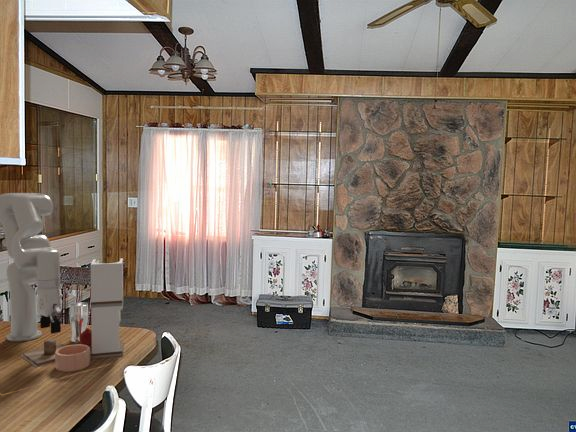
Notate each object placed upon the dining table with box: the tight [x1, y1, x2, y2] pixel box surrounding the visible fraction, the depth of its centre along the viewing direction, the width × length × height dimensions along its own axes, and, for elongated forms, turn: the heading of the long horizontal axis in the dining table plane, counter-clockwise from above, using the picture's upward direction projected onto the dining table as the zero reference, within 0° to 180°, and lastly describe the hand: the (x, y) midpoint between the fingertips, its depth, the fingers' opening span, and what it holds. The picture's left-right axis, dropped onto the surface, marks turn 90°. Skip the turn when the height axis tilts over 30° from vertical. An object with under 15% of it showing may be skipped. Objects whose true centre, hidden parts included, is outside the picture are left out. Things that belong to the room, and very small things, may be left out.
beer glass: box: [69, 301, 89, 343], centre depth 190 cm, size 7×7×15 cm
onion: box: [79, 326, 92, 348], centre depth 183 cm, size 6×6×8 cm
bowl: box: [54, 343, 91, 373], centre depth 164 cm, size 11×11×6 cm
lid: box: [22, 338, 66, 367], centre depth 173 cm, size 14×14×6 cm
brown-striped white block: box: [90, 257, 125, 359], centre depth 177 cm, size 11×11×35 cm
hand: (50, 330), depth 172 cm, fingers open, 9 cm apart
